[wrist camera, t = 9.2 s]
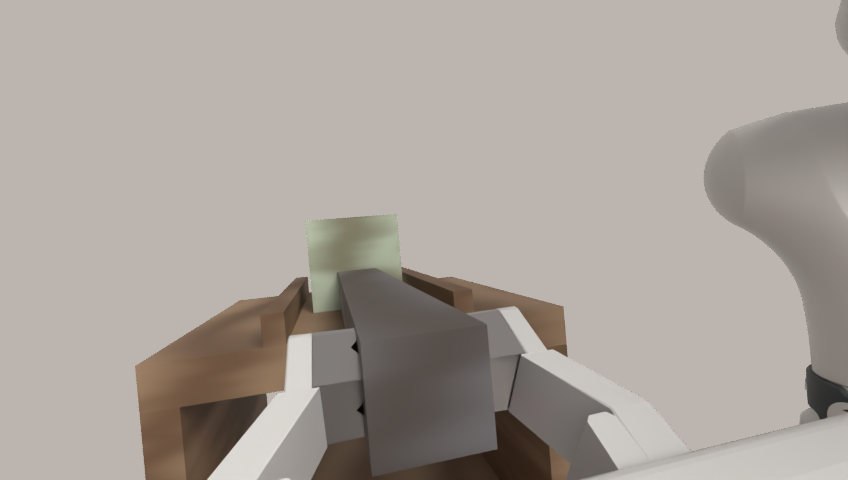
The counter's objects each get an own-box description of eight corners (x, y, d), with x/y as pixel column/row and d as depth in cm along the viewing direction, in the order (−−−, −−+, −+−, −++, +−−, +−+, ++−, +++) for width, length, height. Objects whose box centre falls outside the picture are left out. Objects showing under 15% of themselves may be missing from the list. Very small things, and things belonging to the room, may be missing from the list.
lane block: (389, 290, 34) (383, 220, 34) (575, 431, 8) (551, 145, 8) (316, 298, 33) (310, 225, 33) (271, 499, 7) (240, 156, 7)
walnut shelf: (473, 530, 41) (450, 262, 41) (603, 788, 22) (561, 278, 21) (265, 585, 36) (238, 283, 36) (192, 978, 17) (131, 330, 17)
